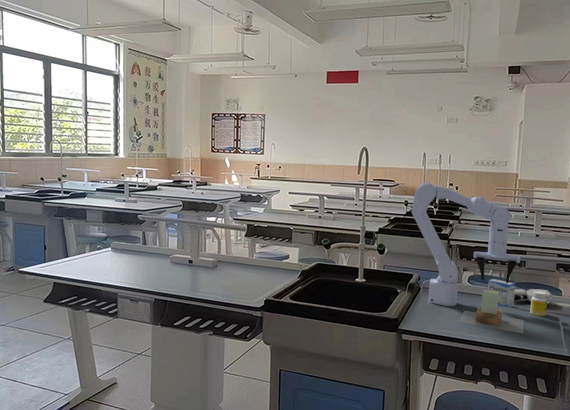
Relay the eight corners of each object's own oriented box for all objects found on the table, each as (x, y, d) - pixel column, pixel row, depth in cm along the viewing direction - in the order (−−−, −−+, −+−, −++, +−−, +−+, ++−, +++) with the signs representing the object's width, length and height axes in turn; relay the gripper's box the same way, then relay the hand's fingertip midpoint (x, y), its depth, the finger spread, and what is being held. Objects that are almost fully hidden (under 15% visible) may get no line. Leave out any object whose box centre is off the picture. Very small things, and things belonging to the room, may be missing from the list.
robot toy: (507, 306, 179) (554, 309, 174) (507, 293, 179) (554, 296, 174) (505, 297, 191) (549, 300, 185) (505, 286, 190) (549, 288, 185)
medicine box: (486, 303, 178) (488, 280, 177) (492, 301, 181) (493, 278, 180) (508, 309, 172) (510, 284, 171) (513, 306, 175) (515, 282, 174)
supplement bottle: (547, 320, 161) (550, 294, 160) (532, 318, 162) (534, 293, 161) (543, 315, 166) (545, 291, 165) (528, 314, 167) (530, 289, 166)
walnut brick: (475, 321, 154) (476, 312, 153) (477, 315, 160) (478, 306, 159) (499, 325, 150) (500, 316, 150) (501, 319, 157) (502, 310, 156)
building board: (458, 325, 153) (458, 322, 152) (464, 313, 165) (464, 310, 165) (523, 336, 144) (523, 333, 144) (523, 323, 157) (524, 320, 157)
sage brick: (480, 311, 154) (482, 293, 153) (482, 308, 158) (483, 289, 157) (496, 314, 152) (498, 295, 151) (497, 310, 156) (498, 292, 155)
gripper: (473, 240, 167) (471, 280, 168) (521, 245, 160) (517, 286, 162) (475, 238, 173) (473, 276, 174) (521, 242, 167) (518, 282, 168)
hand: (494, 280), depth 168 cm, fingers open, 7 cm apart
